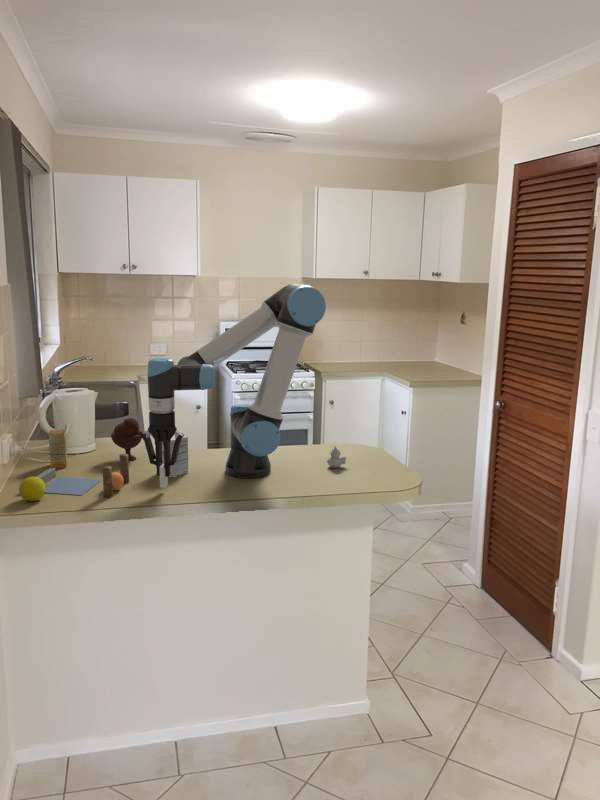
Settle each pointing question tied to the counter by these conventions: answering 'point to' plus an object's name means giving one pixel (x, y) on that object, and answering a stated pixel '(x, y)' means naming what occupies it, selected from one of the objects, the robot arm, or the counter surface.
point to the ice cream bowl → (127, 436)
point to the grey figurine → (336, 458)
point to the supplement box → (182, 458)
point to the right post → (124, 467)
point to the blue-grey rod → (47, 475)
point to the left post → (107, 482)
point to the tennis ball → (32, 489)
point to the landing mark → (71, 485)
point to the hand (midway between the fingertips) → (163, 486)
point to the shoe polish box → (58, 448)
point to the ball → (117, 480)
